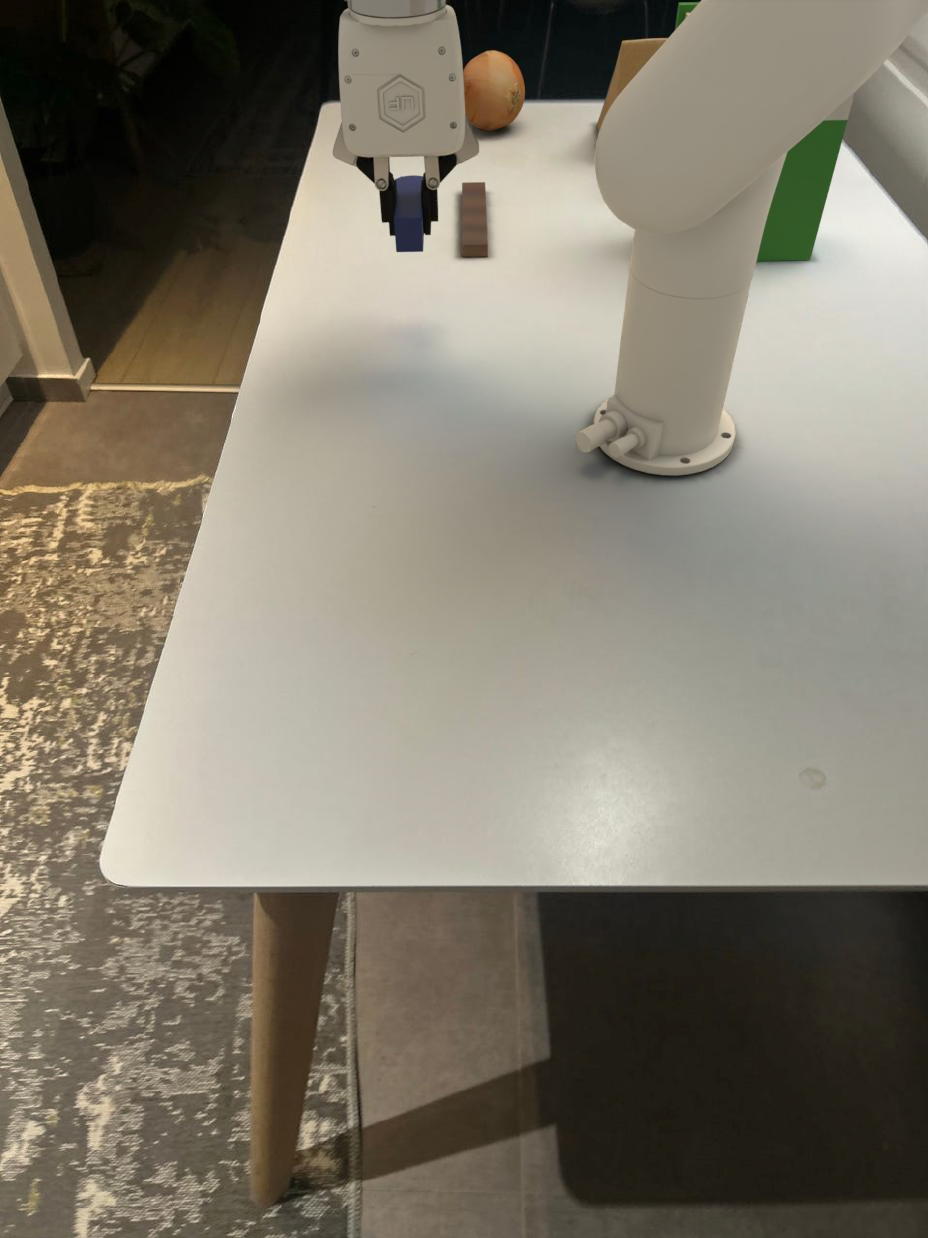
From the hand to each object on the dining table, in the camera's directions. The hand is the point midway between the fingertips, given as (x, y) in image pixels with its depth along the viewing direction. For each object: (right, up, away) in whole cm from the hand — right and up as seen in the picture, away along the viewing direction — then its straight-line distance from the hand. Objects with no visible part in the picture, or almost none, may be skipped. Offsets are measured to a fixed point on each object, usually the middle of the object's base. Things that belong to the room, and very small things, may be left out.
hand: (410, 227), depth 84 cm
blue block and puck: (0, +1, +2) cm, 2 cm away
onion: (+9, +37, +53) cm, 65 cm away
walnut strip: (+6, +13, +31) cm, 34 cm away
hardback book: (+36, +8, +25) cm, 45 cm away
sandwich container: (+29, +32, +48) cm, 65 cm away
